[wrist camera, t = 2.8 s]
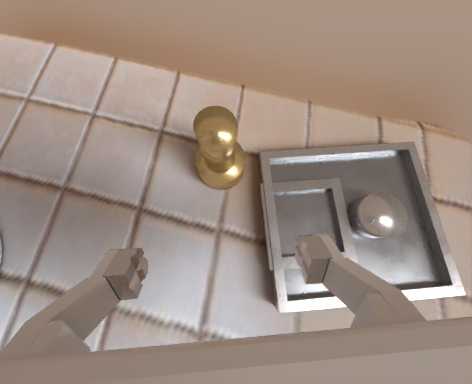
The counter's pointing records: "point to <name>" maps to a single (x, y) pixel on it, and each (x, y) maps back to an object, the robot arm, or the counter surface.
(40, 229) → the counter surface
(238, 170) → the gold peg with base
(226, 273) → the counter surface
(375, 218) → the tray
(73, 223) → the counter surface
